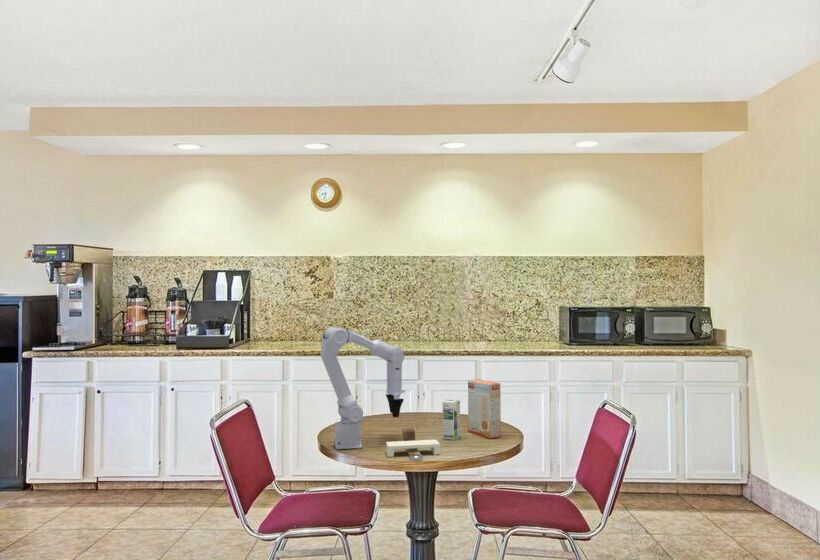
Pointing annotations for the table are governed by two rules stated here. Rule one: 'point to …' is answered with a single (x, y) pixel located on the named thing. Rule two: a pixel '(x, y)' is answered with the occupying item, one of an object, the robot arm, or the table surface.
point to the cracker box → (484, 408)
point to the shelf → (412, 446)
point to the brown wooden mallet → (410, 436)
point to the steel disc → (416, 457)
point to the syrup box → (451, 419)
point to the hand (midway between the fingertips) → (394, 414)
